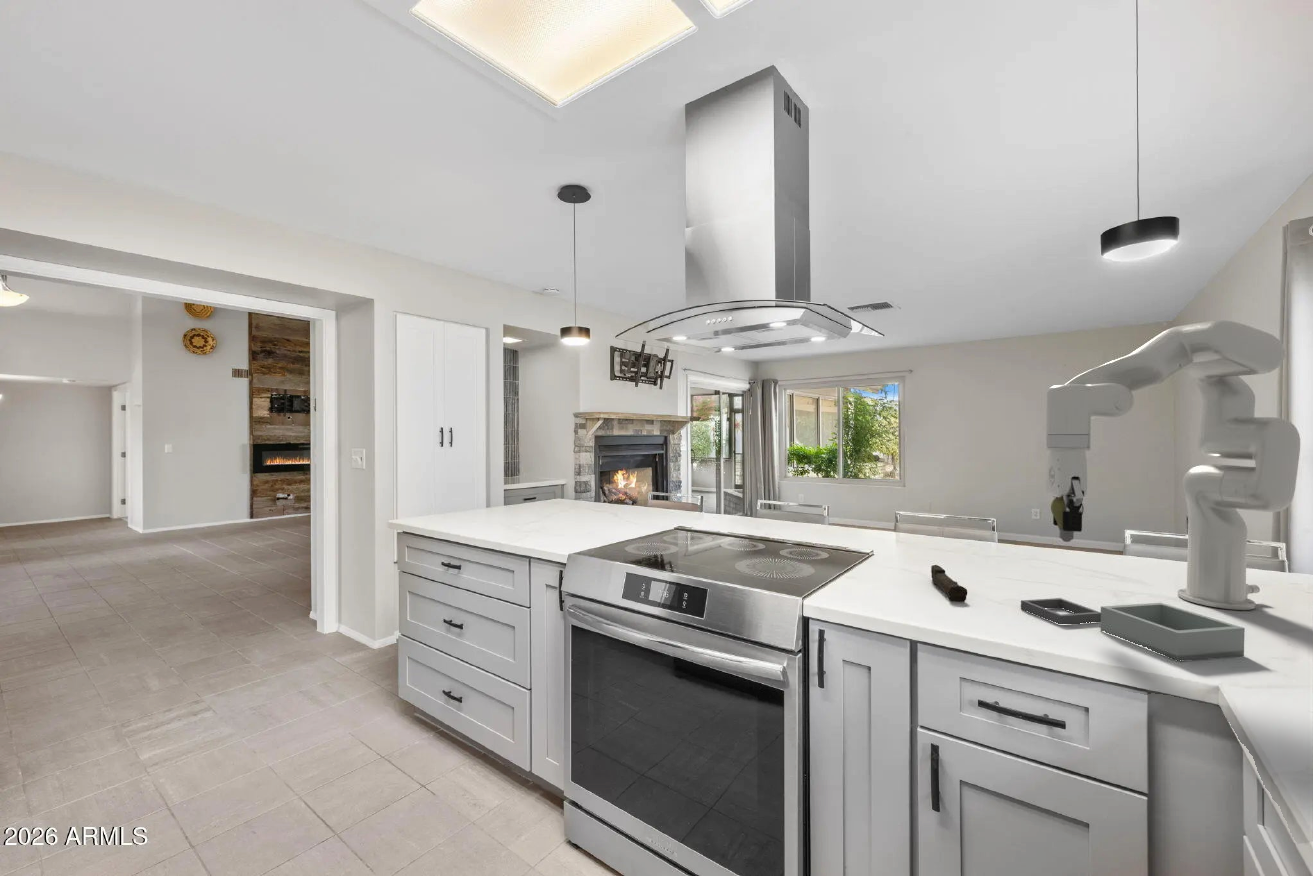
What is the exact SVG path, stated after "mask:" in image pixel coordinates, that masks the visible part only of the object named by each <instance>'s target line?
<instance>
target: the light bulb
mask: <svg viewBox="0 0 1313 876" xmlns="http://www.w3.org/2000/svg"><path fill="white" fill-rule="evenodd" d="M1067 496H1072V497H1073V495H1067ZM1068 501H1069V502H1070V501H1071V500H1068ZM1084 509H1085V508H1084V504H1083V503H1082V515H1084V512H1085V510H1084ZM1050 511H1051V513H1052V516H1053V515H1054V517H1055V519H1056V521H1057V524H1058V526H1057V527H1058V529H1059V539H1061V540H1062V541H1063V542H1065V543H1069V542H1071V541H1073V540H1074V537H1075V536H1074V533H1075V531H1064V530H1063V529H1062V519H1063V511H1065V509H1064V499H1063V495H1062V497H1056V498H1055V499H1054V498H1053V500H1052V501H1051V504H1050Z"/></svg>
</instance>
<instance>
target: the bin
mask: <svg viewBox="0 0 1313 876" xmlns="http://www.w3.org/2000/svg"><path fill="white" fill-rule="evenodd" d="M1100 612H1101V623H1100V630H1101V631H1105V632H1106V633H1109V634H1112V635H1115V636H1118V637H1120V638H1123V639H1125V640H1128V641H1130V642H1133V643H1135V644H1138V645H1142V646H1143V647H1147V648H1148V649H1151V650H1152V651H1155V652H1157V653H1160V654H1163V655H1165V656H1167V657H1169V658H1168V659H1170V658H1172V659H1173V661H1175V660H1177V661H1180V660H1181V661H1180V662H1183V661H1182V660H1192V661H1201V660H1200V659H1203V660H1211V658H1213V659H1214V658H1215V659H1223V658H1224V659H1225V658H1235V657H1244V656H1245V627H1242V626H1238V625H1236V624H1232V623H1230V622H1225V621H1223V620H1219V619H1216V618H1212V617H1210V616H1207V615H1202V614H1199V613H1196V612H1193V611H1189V610H1188V609H1186V610H1185V609H1183V608H1180V607H1176V606H1173V605H1170V604H1166V603H1163V602H1149V603H1148V602H1147V603H1135V604H1132V603H1131V604H1121V605H1120V604H1119V605H1106V606H1105V605H1103V606H1100ZM1101 631H1100V632H1101ZM1106 633H1105V634H1106ZM1152 651H1151V652H1152ZM1157 653H1156V654H1157ZM1167 657H1166V658H1167ZM1209 658H1210V659H1209ZM1172 659H1171V660H1172ZM1198 659H1199V660H1198ZM1213 659H1212V660H1213ZM1177 661H1176V662H1177Z"/></svg>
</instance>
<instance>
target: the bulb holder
mask: <svg viewBox="0 0 1313 876" xmlns="http://www.w3.org/2000/svg"><path fill="white" fill-rule="evenodd" d="M1045 608H1055V609H1061V608H1064V609H1065V610H1064V609H1063V610H1064V611H1066V610H1069V611H1072V612H1074V613H1075V614H1074V613H1072V612H1071V613H1064V614H1061V613H1058V612H1055V611H1053V610H1052V609H1045ZM1021 609H1022V611H1024V610H1025V611H1024V612H1026V611H1028V612H1027V613H1029V612H1030V613H1029V614H1031V613H1033V614H1035V615H1034V616H1036V615H1038V616H1040V617H1039V618H1041V617H1043V618H1045V619H1044V620H1046V619H1048V620H1051V621H1053V622H1056V623H1058V624H1078V625H1081V624H1080V623H1086V622H1087V623H1089V622H1090V623H1091V622H1101V611H1098V610H1095V609H1092V608H1089V607H1086V606H1084V605H1081V604H1079V603H1076V602H1072V601H1069V600H1067V599H1064V598H1061V597H1055V598H1054V597H1053V598H1052V597H1051V598H1038V599H1024V600H1020V610H1021ZM1069 611H1068V612H1069ZM1033 614H1032V615H1033ZM1038 616H1037V617H1038ZM1043 618H1042V619H1043ZM1048 620H1047V621H1048ZM1053 622H1052V623H1053ZM1058 624H1057V625H1058Z"/></svg>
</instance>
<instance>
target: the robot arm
mask: <svg viewBox="0 0 1313 876" xmlns="http://www.w3.org/2000/svg"><path fill="white" fill-rule="evenodd" d="M1285 357H1286V350H1285V347H1284V345H1283V342H1281V340H1280V339H1279V338H1278V337H1277V336H1275V335H1274V334H1272V333H1269V332H1267V331H1264V330H1261V329H1258V328H1255V327H1253V326H1250V325H1248V324H1247V325H1246V324H1244V323H1240V322H1237V321H1233V320H1225V319H1219V320H1218V319H1217V320H1209V321H1203V322H1196V323H1190V324H1189V323H1188V324H1183V325H1178V326H1174V327H1171V328H1168V329H1166V330H1164V331H1162V332H1161V333H1159V334H1157V335H1156V336H1154V338H1151V339H1150V340H1149V341H1147V342H1146V343H1144V344H1143V345H1142V346H1140V347H1138V348H1137V349H1136V350H1134V351H1132V352H1131V353H1129V354H1127V355H1125V356H1122V357H1119V358H1117V359H1115V360H1111V361H1109V362H1106V363H1104V364H1102V365H1099V366H1097V367H1094V368H1092V369H1089V370H1087V371H1085V372H1083V373H1080V374H1078V375H1076V376H1075V377H1073V378H1072V379H1071V380H1068V382H1066V383H1064V384H1057V385H1053V386H1051V387H1049V388H1047V392H1046V411H1045V412H1046V413H1045V414H1046V416H1045V418H1046V419H1045V420H1046V421H1045V422H1046V425H1045V426H1046V428H1045V429H1046V430H1045V431H1046V434H1045V436H1046V437H1045V450H1047V451H1048V459H1047V465H1046V467H1047V468H1046V483H1045V484H1046V485H1045V489H1046V492H1047V494H1049V495H1052V496H1053V500H1054V499H1055V498H1056V497H1062V495H1063V499H1064V509H1065V511H1063V519H1062V529H1063V530H1064V531H1074V532H1075V533H1076V532H1079V533H1081V532H1082V531H1083V514H1082V504H1083V501H1084V498H1085V497H1087V495H1088V494H1087V491H1088V466H1087V465H1088V464H1087V451H1088V452H1089V451H1091V445H1092V444H1091V437H1092V435H1091V430H1092V427H1091V424H1092V423H1091V422H1092V419H1093V420H1109V419H1110V420H1111V419H1117V418H1120V417H1123V416H1125V415H1127V414H1128V413H1129V412H1130V411H1131V410H1132V408H1133V406H1134V404H1135V398H1134V394H1133V392H1138V391H1142V390H1143V391H1144V390H1147V389H1149V388H1152V387H1156V386H1158V385H1160V384H1162V383H1163V382H1165V381H1166V380H1168V379H1170V378H1171V377H1172V376H1173V375H1174V374H1176V373H1178V372H1179V371H1180V370H1182V371H1183V372H1184V374H1186V375H1187V376H1188V378H1190V379H1191V381H1193V383H1194V384H1195V385H1196V387H1197V389H1198V390H1199V393H1200V396H1201V411H1200V416H1199V417H1200V419H1199V426H1198V427H1199V428H1198V434H1197V447H1198V451H1199V452H1200V453H1201V454H1202V455H1203V456H1206V457H1209V458H1214V459H1223V460H1236V461H1240V460H1241V461H1254V463H1255V464H1254V465H1255V466H1245V465H1242V466H1241V465H1233V464H1231V465H1230V464H1216V463H1215V464H1201V465H1197V466H1193V467H1191V468H1190V469H1189V470H1187V471H1186V473H1185V474H1184V476H1183V480H1182V487H1183V488H1182V489H1183V493H1184V496H1185V501H1186V505H1187V518H1188V519H1187V522H1188V523H1187V563H1186V588H1180V589H1178V590H1177V596H1178V598H1181V599H1182V600H1184V601H1187V602H1191V603H1193V604H1197V605H1201V606H1206V607H1213V608H1216V609H1223V610H1224V609H1225V610H1234V611H1235V610H1237V611H1251V610H1254V609H1256V607H1257V605H1256V602H1255V601H1254V600H1252V599H1250V598H1248V595H1249V594H1258V593H1260V592H1261V589H1260V587H1259V586H1258V585H1257V584H1248V583H1247V556H1248V555H1247V553H1248V552H1247V549H1248V547H1247V546H1248V527H1247V525H1246V522H1245V519H1244V518H1243V517H1242V515H1241V514H1240V513H1239V511H1238V510H1245V511H1246V510H1247V511H1255V512H1264V513H1277V512H1281V511H1284V510H1285V509H1287V508H1288V507H1289V506H1290V504H1291V503H1292V502H1293V499H1294V496H1295V491H1296V486H1297V477H1298V469H1299V463H1300V462H1299V461H1300V454H1301V453H1300V452H1301V437H1300V433H1299V431H1298V429H1297V427H1296V426H1295V424H1294V423H1293V422H1291V421H1290V420H1288V419H1285V418H1281V417H1273V416H1272V417H1271V416H1270V417H1269V416H1267V417H1266V416H1262V417H1261V416H1259V417H1257V416H1255V411H1256V394H1255V393H1254V391H1253V389H1252V388H1251V387H1250V385H1249V384H1248V383H1247V382H1246V381H1245V380H1244V379H1243V378H1241V377H1242V376H1257V375H1258V376H1259V375H1265V374H1267V373H1271V372H1274V371H1276V370H1277V369H1278V368H1280V366H1281V365H1283V363H1284V360H1285ZM1240 376H1241V377H1240ZM1067 495H1072V496H1073V497H1072V496H1067ZM1068 500H1071V501H1070V502H1069V501H1068ZM1237 509H1238V510H1237ZM1052 518H1053V519H1052V520H1053V521H1052V523H1053V526H1057V527H1058V524H1057V521H1056V519H1055V517H1054V515H1053V514H1052Z"/></svg>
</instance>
